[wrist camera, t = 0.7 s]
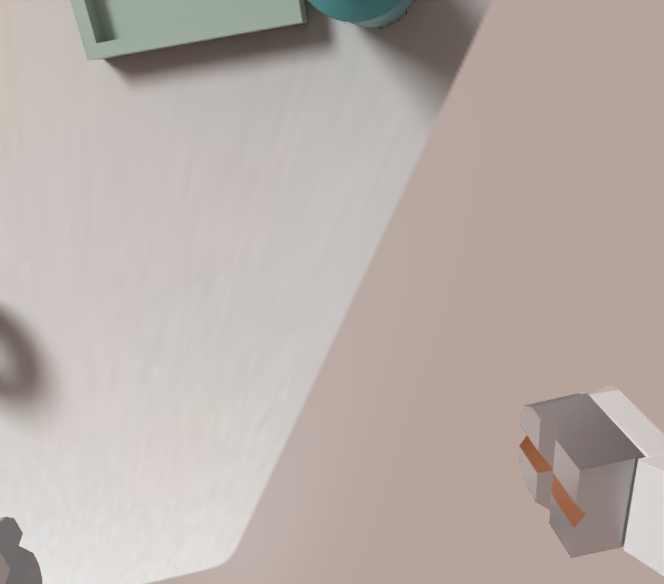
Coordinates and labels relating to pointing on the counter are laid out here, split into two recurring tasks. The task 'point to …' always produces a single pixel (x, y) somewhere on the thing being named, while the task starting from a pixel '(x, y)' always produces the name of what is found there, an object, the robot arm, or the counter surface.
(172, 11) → the tray
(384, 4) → the beverage bottle
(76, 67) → the counter surface
